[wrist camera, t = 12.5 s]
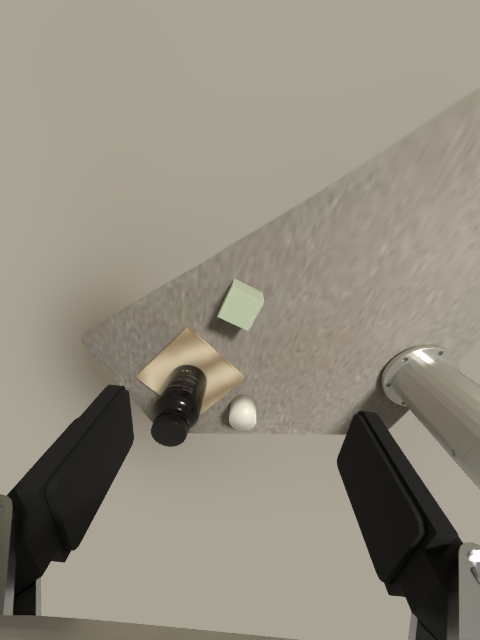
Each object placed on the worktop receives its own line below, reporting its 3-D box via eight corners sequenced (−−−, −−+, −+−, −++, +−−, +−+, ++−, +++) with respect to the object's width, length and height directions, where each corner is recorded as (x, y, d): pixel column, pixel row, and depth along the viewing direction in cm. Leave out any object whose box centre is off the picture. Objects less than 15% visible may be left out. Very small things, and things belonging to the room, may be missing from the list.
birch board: (243, 375, 43) (243, 380, 41) (194, 414, 47) (192, 420, 45) (187, 325, 39) (185, 329, 38) (139, 372, 43) (135, 377, 42)
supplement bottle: (207, 395, 43) (192, 455, 32) (170, 391, 43) (143, 450, 32) (209, 365, 40) (194, 418, 29) (170, 360, 40) (140, 412, 29)
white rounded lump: (260, 405, 45) (262, 421, 42) (242, 418, 47) (242, 435, 43) (243, 390, 44) (243, 405, 41) (225, 404, 46) (223, 420, 42)
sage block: (262, 292, 37) (264, 302, 32) (248, 318, 38) (248, 331, 34) (234, 278, 36) (232, 286, 31) (221, 305, 38) (217, 316, 33)
